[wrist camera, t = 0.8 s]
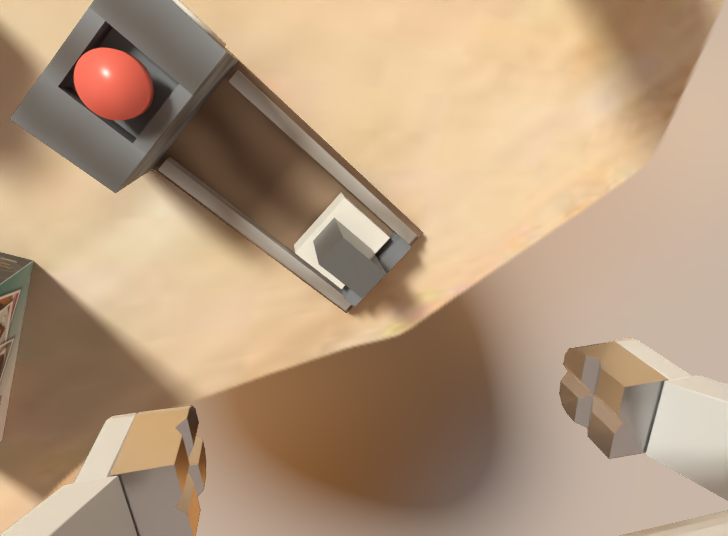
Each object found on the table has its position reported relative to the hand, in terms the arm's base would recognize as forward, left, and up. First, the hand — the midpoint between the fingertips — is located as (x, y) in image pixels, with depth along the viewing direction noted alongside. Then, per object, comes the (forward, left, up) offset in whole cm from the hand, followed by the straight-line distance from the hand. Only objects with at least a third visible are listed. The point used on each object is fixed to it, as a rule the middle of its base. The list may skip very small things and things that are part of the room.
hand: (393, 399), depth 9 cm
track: (+3, 0, -36) cm, 36 cm away
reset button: (+3, -13, -25) cm, 28 cm away
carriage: (+3, +8, -35) cm, 36 cm away
